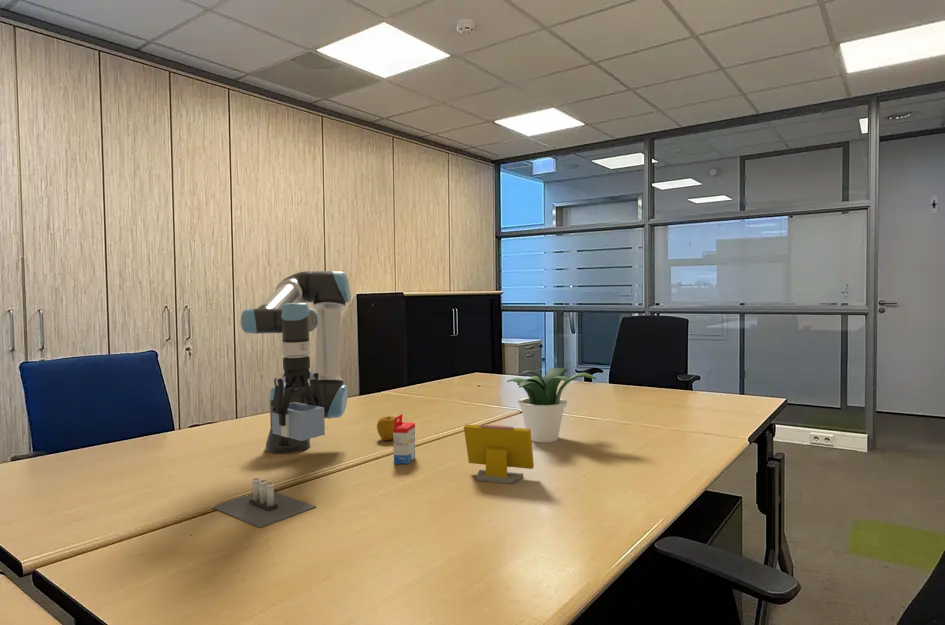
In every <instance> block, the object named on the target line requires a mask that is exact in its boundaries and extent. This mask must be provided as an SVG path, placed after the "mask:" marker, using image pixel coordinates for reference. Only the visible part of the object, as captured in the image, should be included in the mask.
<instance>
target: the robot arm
mask: <svg viewBox="0 0 945 625" xmlns="http://www.w3.org/2000/svg"><path fill="white" fill-rule="evenodd" d="M350 290H351V288H350V283H349V279H348V275H347V274H346V273H345V272H344V271H337V270H327V271H326V270H325V271H324V270H323V271H322V270H320V271H317V270H316V271H308V270H307V271H300V272H296V273H294V274H292V275H289V276H287V277H285V278H283V279H282V280H281V281H280V282H279V283H278V284H277V285H276V287H275V291H274V292H273V293H271V295H269V297H267V298H266V299H265V300H264V301H263V302H262V303H261V304H260V305H259V306H258V307H257V308H247V309H244V310H243V311H242V313H241V316H240V325H241V329H242V331H243V332H244V333H246V334H255V335H258V334H281V335H282V339H281V340H282V356H284V357H282V369H283V371H284V372H283V376H281V377H279V378H278V377H275V378H274V380H273V382H274V386H272V388H270V392H269V414H270V415H269V417H270V428H269V432H268V436H267V439H266V442H265V451H266V452H268V453H271V454H291V453H298V452H302V451H306V450H307V449H309V448H310V447H311V439H307V440H304V441H300V440H296V439H292V438H288V437H289V414H286V413H287V410H288V407H289V404H290V403H292V402H298V403H303V404H308V405H313V406H318V407H324V419H337V418H341V417H342V416H343V415H344V414H345V411H346V408H347V404H348V396H349V393H348V392H349V387H348V386H347V384H344V379H343V378H342V377H341V376H340V366H341V365H340V363H341V361H340V359H341V333H342V332H341V326H342V324H341V323H342V312H343V310H344V309H346V304H347V303H350V302H351V291H350ZM307 303H313V304H312V305H313V306H312V307H313V308H314V309H315V310H314V309H313V308H310V307H309V304H307ZM315 329H316V336H315V337H316V339H315V359H314V360H315V365H314V372H313V371H312V372H311V371H310V368H311V357H310V356H309V355H310V352H311V350H310V333H311V332H312V331H314V330H315ZM308 380H309V381H308ZM272 406H273V408H272ZM272 412H273V413H277V414H279V425H280V426H281V432H282V436H280V435H277V434H273V433H272Z"/></svg>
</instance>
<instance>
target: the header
mask: <svg viewBox="0 0 945 625" xmlns="http://www.w3.org/2000/svg"><path fill="white" fill-rule="evenodd" d="M274 488H275V484H274V482H268V483H267V480H266V479H265V480H264V479H263V480H260V478H259V477H253V478H252V493H250V495H249V494H247V495H248V496H246V495H243V496H240V497H237V498H234V499H231V500H227V501H225V502H221V503H218V504H215V506H214V505H212V506H213V508H214V509H213V508H212V509H213V510H216V511H218V512H221V513H223V514H226V515H228V516H230V517H233V518H235V519H237V520H240V521H242V522H245V523H246V524H249V525H252V526H255V527H257V528H258V529H261V528H264V527H266V526H269V525H272V524H275V523H277V522H280V521H282V520H286V519H288V518H291V517H293V516H296V515H299V514H302V513H304V512H308V511H310V510H313V509H315V508H317V506H316V505H314V504H311V503H308V502H306V501H302V500H300V499H297V498H293V497H291V496H288V495H285V494H283V493H280V492H276V491H275V490H274Z"/></svg>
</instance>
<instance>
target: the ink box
mask: <svg viewBox="0 0 945 625" xmlns="http://www.w3.org/2000/svg"><path fill="white" fill-rule="evenodd" d="M397 420H398V422H397ZM392 440H393V464H395V465H409V464H410V463H411V462H412V461H413V460H414V459H415V458H416V423H415V422H405V421H404V422H403V413H401V414H398V415H397V416H396V418H394V424H393V439H392Z"/></svg>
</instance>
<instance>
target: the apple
mask: <svg viewBox="0 0 945 625" xmlns="http://www.w3.org/2000/svg"><path fill="white" fill-rule="evenodd" d="M396 417H397V416H396ZM396 417H395V416H390V415H388V416H382V417H380V418H379V419H378V421H377V423H376V429H377V433H378V435H379V437H380V439H382V440H383V441H391V440H393V424H394V418H396ZM398 421H399V419H398V420H397V422H398Z"/></svg>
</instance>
